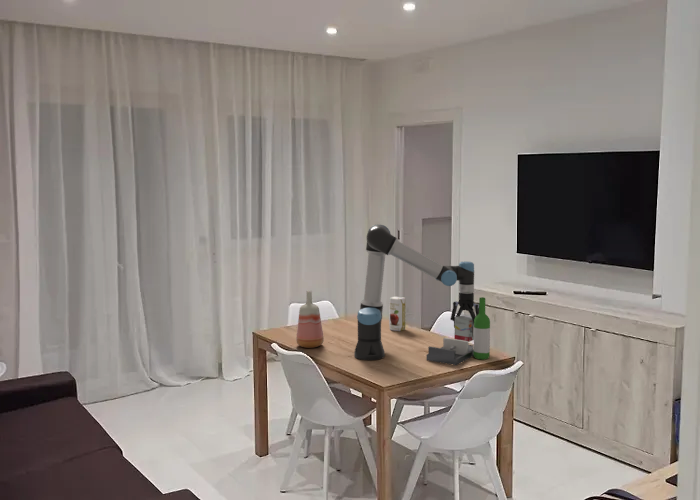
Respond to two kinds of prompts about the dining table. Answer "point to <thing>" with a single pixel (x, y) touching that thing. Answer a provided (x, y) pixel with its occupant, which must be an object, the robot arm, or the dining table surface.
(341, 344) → the dining table surface
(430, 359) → the dark grey tray
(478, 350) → the wine bottle
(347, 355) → the dining table surface
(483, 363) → the dining table surface
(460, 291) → the robot arm
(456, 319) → the ink box
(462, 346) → the block
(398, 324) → the juice carton
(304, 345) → the vase
